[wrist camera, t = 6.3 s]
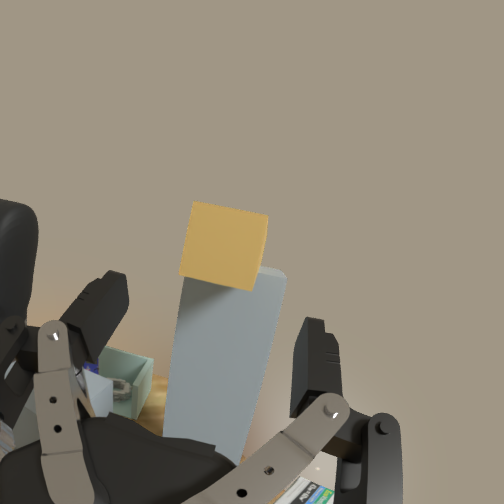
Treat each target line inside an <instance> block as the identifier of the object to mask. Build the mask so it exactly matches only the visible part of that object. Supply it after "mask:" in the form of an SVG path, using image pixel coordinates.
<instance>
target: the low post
mask: <svg viewBox="0 0 504 504" xmlns="http://www.w3.org/2000/svg"><path fill="white" fill-rule="evenodd" d="M15 362H16V361H15ZM15 362H13V363H11V364H10V366H9V368H8V369H7V371H6V373H5V378H6V376H7V375H8V373H9V371H10V370H11V368H12V367H13V365H14V363H15ZM84 372H85V378H86V383H87V388H88V393H89V398H90V402H91V405H92V408H93V410H94V413H95V415H96V417H107V416H108V413H109V411H110V412H112V413H113V381H112V380H110V379H107V378H105V377H102V376H100V375H97V374H95V373H93V372H91V371H88V370H86V369H84ZM13 434H14V441H15V444H16V445H15V448H14V449H13V450H15V449H18V448H20V447H23V446H25V445H27V444H30V443H32V442H34V441H37V440H39V439H40V436H39V429H38V422H37V414H36V405H35V394H34V389H33V390H32V392H31V394H30V396H29V398H28V400H27V402H26V404H25V406H24V408H23V410H22V412H21V414H20V416H19V418H18V420H17V422H16V424H15V426H14V428H13ZM13 450H12V451H13Z"/></svg>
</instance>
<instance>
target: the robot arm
mask: <svg viewBox="0 0 504 504" xmlns="http://www.w3.org/2000/svg"><path fill="white" fill-rule="evenodd" d="M37 246H38V221H37V217H36V215H35V213H34V211H33V210H32V209H31V208H30V207H29V206H27V205H24V204H21V203H17V202H13V201H8V200H3V199H0V504H267V503H268V502H270V501H271V500H272V499H273V498H274V497H275V496H276V495H278V494H279V493H280V492H281V491H282V490H283V489H284V488H285V487H286V486H287V485H288V484H289V483H291V481H293V479H295V478H296V477H297V476H298V475H299V474H300V473H301V472H302V471H303V470H304V469H305V468H306V467H307V466H308V465H309V464H310V463H311V461H312V460H313V459H314V457H315V456H316V455H317V454H318V453H319V452H320V451H322V452H325V453H328V454H330V455H333V456H336V457H337V471H336V482H335V492H334V501H333V504H403V475H402V474H403V473H402V449H401V434H400V426H399V423H398V421H397V420H396V419H395V418H394V417H393V416H392V415H390V414H387V413H378V414H375V415H374V416H373V417H370V416H367V415H364V414H362V413H359V412H357V411H354V410H353V409H351V408H350V407H349V404H348V403H347V401H346V400H345V399H344V398H343V394H342V381H341V368H340V357H339V346H338V342H337V340H336V339H335V337H334V335H333V334H331V333H325V327H324V320H321V319H316V318H310V317H306V318H305V320H304V323H303V325H302V328H301V330H300V333H299V335H298V337H297V340H296V343H295V347H294V354H293V372H292V388H291V389H292V390H291V403H290V418H296V419H295V420H294V421H293V422H292V423H291V424H290V425H289V426H288V427H287V428H286V429H284V430H283V431H280V432H279V433H278V434H276V435H275V436H274V437H273V438H272V439H270V440H269V441H268V442H267V443H266V444H265V445H263V446H262V447H261V448H260V449H259V450H257V451H256V452H255V453H254V454H252V455H251V456H250V457H249V458H247V459H246V460H245V461H244V462H242V463H241V464H240V465H238V466H236V465H235V464H234V463H233V462H232V461H231V460H230V459H228V458H227V457H225V456H224V455H222V454H221V453H218V452H216V451H215V448H216V445H213V444H208V443H204V442H200V441H196V440H192V439H188V438H172V437H160V436H157V435H155V434H153V433H151V432H150V431H148V430H147V429H145V428H143V427H142V426H140V425H139V424H137V423H136V422H134V421H132V420H130V419H127V418H124V417H122V416H119V415H117V414H114V413H112V412H110V411H109V413H108V416H107V417H96V415H95V413H94V410H93V408H92V405H91V402H90V398H89V393H88V388H87V383H86V378H85V372H84V367H83V365H84V363H85V361H88V362H90V363H93V364H95V362H96V360H97V359H98V357H99V355H100V354H101V352H102V350H103V349H104V347H105V345H106V344H107V342H108V340H109V339H110V337H111V336H112V334H113V332H114V331H115V329H116V327H117V326H118V324H119V323H120V321H121V320H122V318H123V317H124V315H125V313H126V312H127V309H128V306H129V295H128V288H127V280H126V275H125V274H122V273H119V272H115V271H112V270H109V271H108V272H107V273H106V274H105V275H104V276H103V278H102V279H99V278H97V279H96V280H94V281H92V282H91V283H89V284H88V285H87V286H86V287H85V288H84V290H83V291H82V293H80V294H79V296H78V297H77V299H75V300H74V302H73V303H72V304H71V305H70V306H69V308H68V309H67V310H66V312H65V313H64V314H63V315H62V317H61V318H60V319H59V320H52V321H49V322H46V323H45V324H43V325H42V326H41V327H33V326H27V307H28V304H29V300H30V297H31V292H32V282H33V272H34V266H35V259H36V253H37ZM15 361H16V362H15ZM13 362H15V363H14V365H13V367H12V368H11V370H10V371H9V373H8V375H7V376H6V378H5V373H6V371H7V369H8V368H9V366H10V364H11V363H13ZM33 389H34V394H35V405H36V414H37V422H38V429H39V436H40V439H39V440H37V441H34V442H32V443H30V444H27V445H25V446H23V447H20V448H18V449H15V450H13V449H14V448H15V445H16V444H15V441H14V434H13V428H14V426H15V424H16V422H17V420H18V418H19V416H20V414H21V412H22V410H23V408H24V406H25V404H26V402H27V400H28V398H29V396H30V394H31V392H32V390H33ZM12 450H13V451H12Z"/></svg>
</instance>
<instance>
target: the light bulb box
mask: <svg viewBox="0 0 504 504" xmlns="http://www.w3.org/2000/svg"><path fill="white" fill-rule="evenodd" d="M334 492H335V491H332V490H330V489H327V488H325V487H322V486H320V485H317V484H315V483H313V482H311V481H309V480H307V479H305V478H303V477H299V478H298V479H297V480H295V481H294V483H293V484H292V485H291V486H290V487H289V488H288V489H287V490H286V491H285V492H284V493H283V494H282V495H281V496H280V497H279V498H278V499H277V500H276V501H275V502H274V503H273V504H333V501H334Z"/></svg>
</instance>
